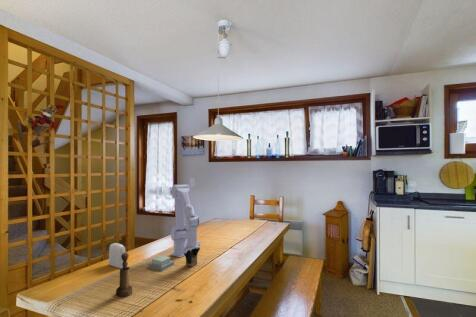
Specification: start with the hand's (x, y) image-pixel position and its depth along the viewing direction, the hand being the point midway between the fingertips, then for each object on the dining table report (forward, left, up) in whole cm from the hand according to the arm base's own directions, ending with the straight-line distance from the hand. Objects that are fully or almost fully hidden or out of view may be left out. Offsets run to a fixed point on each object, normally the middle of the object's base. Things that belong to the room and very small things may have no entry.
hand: (191, 261), depth 149 cm
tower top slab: (+9, -14, 0) cm, 17 cm away
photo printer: (+20, -36, -2) cm, 41 cm away
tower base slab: (+9, -14, -2) cm, 17 cm away
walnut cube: (0, 0, -1) cm, 1 cm away
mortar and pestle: (+40, -8, -2) cm, 41 cm away
